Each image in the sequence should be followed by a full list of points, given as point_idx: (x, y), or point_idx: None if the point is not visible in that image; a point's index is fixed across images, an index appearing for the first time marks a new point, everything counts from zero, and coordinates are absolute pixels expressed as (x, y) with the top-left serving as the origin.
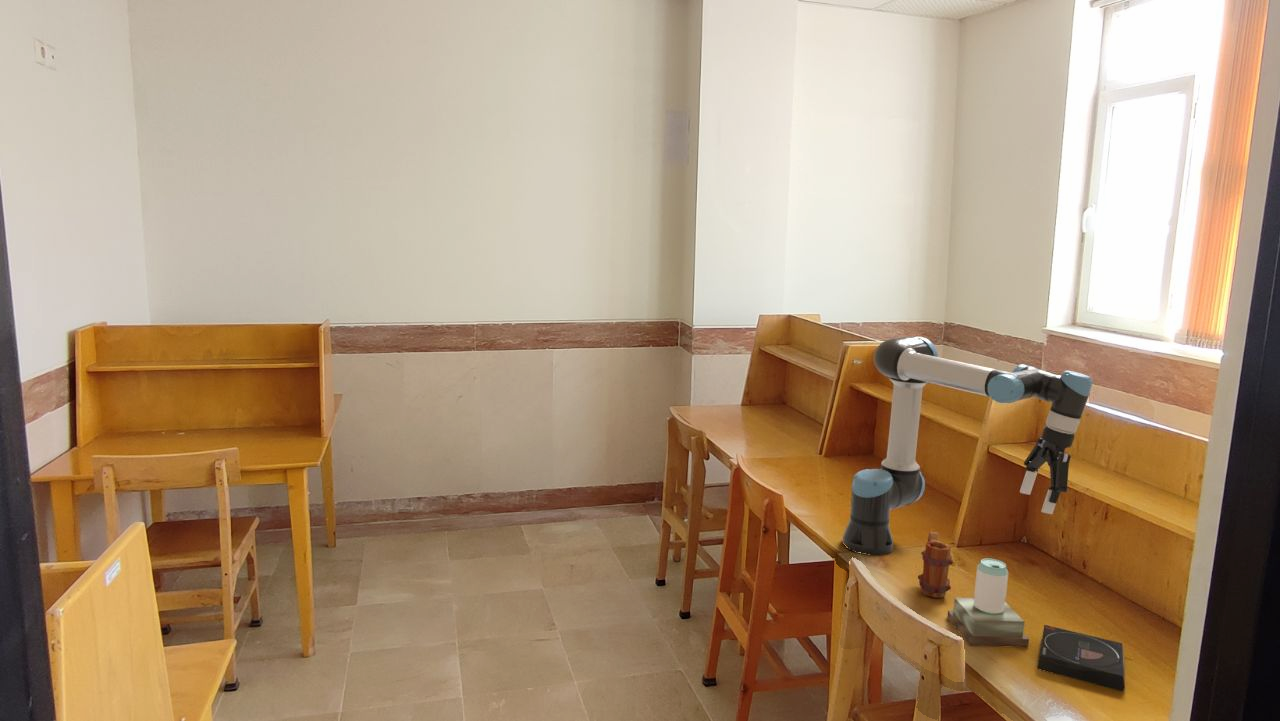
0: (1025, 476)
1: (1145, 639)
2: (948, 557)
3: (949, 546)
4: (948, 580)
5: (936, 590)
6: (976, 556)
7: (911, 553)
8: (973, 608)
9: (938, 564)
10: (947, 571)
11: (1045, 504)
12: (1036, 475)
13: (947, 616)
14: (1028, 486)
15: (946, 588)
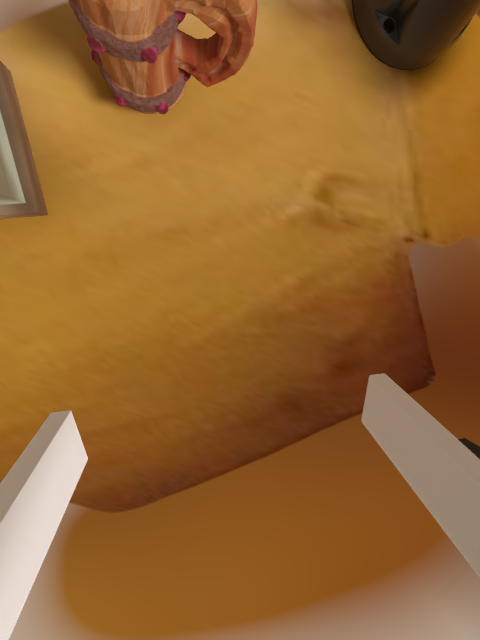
0: (471, 466)
1: None
2: (89, 16)
3: (111, 1)
4: (141, 100)
5: (92, 52)
6: (363, 266)
7: (371, 112)
8: None
9: None
10: (106, 58)
11: (16, 464)
12: (468, 560)
13: (7, 69)
14: (395, 439)
15: (110, 88)
